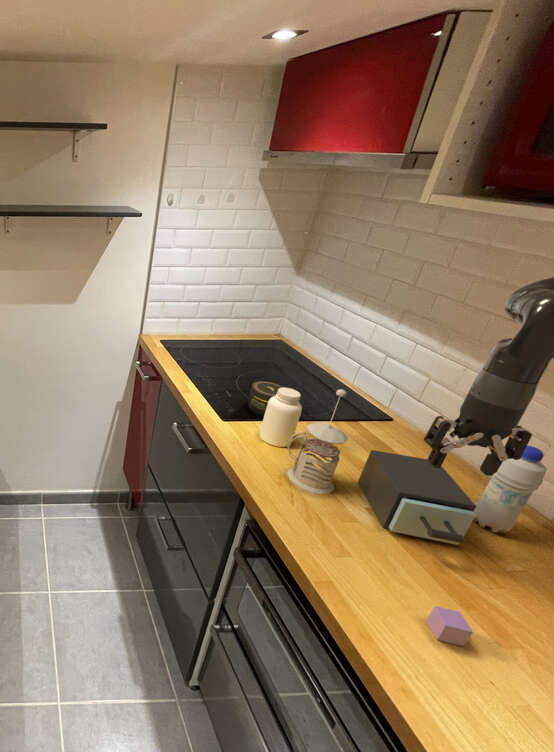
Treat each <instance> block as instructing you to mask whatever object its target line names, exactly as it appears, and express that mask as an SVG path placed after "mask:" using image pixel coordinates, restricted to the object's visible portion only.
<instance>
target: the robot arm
mask: <svg viewBox="0 0 554 752" xmlns="http://www.w3.org/2000/svg"><path fill="white" fill-rule="evenodd" d="M504 312H505V314H506V316H508V317H509V318H510V319H511V320H512V321H514V322H516V323H517V324H520V325H521V327H520V329H519V330H518V331H517V332H516V334H515V335H514V336H513V337H509V338H503V339H500V340H499V341H497V342H496V343H495V344H494V346H493V347H492V349H491V351H490V353H489V354H488V356H487V358H486V361H484V362H485V363H484V364H483V366H482V368H481V369H480V371H479V372H478V374H477V375H476V376H475V379H473V382H472V384H471V386H470V388H469V390H468V393H467V394H466V396H465V398H464V400H463V402H462V404H461V406H460V408H459V416H458V417H457V418H455V419H454V420H453V419H447V418H445V417H443V416H442V415H438V416H436V417H435V418H434V420H433V421H432V423H431V425H430V427H429V429H428V430H427V433H426V434H425V436H424V438H423V441H424V442H425V443H426V445H428V446H429V447H430V448H431V450H430V453H429V455H428V457H427V459H428V461H429V463H430V464H431V465H432V466H433V467H434V468H440V467H441V466H443V463H444V461H446V457H447V456H448V453H449V452H450V451H452V450H454V449H461V448H462V447H465V446H471V447H475V446H477V447H481V448H485V449H487V448H488V450H489V452H490V453H487V454H486V456H485V458H484V460H483V461H482V462H481V465H480V467H479V470H480V471H481V472H482V473H483V474H484V475H485V476H487V477H492V476H493V474H495V473H496V472H497V471H498V469H499V467H500V466H501V464H502V462H503V461H506V460H507V459H514V460H519V459H520V458H521V457H522V455H523V453H524V451H525V449H526V447H527V446H529V443H530V441H531V439H532V437H533V434H532V433H531V432H530V431H529V430H527V429H526V428H524V427H523V426H522V425H519V423H520V421H521V419H522V417H523V416H524V414H525V412H526V411H527V409H528V407H529V405H530V403H532V400H533V398H534V397H535V395H536V392H537V389H538V387H539V384H540V382H541V380H542V378H543V376H544V374H545V373H546V371H547V369H548V368H549V366H550V363H551V362H552V360H553V359H554V277H553V276H552V277H548V278H545V279H540V280H537V281H534V282H531V283H529V284H526V285H524V286H522V287H520V288H518V289H517V290H515V291H513V292H512V293H511V294H510V295H508V297H507V299H506V300H505V302H504ZM455 437H457V438H458V439H455ZM505 439H507V441H506V443H505V444H504V443H503V440H505Z"/></svg>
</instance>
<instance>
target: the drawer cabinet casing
mask: <svg viewBox="0 0 554 752" xmlns="http://www.w3.org/2000/svg"><path fill="white" fill-rule="evenodd" d="M357 486H359V488H360V490H361V493H362V494H363V496H364V497H365V499H366V501H367V503H368V504H369V506H370V508H371V510H372V512H373V513H374V515H375V517H376V518H377V521H378V522H379V524H380V526H381V527H382V528H383V529H386V530H390V528H389V525H390V523H391V520H392V518H393V516H394V514H395V512H396V510H397V508H398V506H399V504H400V502H401V500H402V497H403V496H405V497H410V498H415V499H421V500H426V501H431V502H437V503H442V504H447V505H452V506H458V507H462V508H461V509H463V510H468V511H472V512H474V510H475V508H476V505H475V504H476V503H475V502H473V501H472V499H471V498H470V497H469V495H467V494H466V492H465V491H464V490H463V489H462V488H461V486H460V485H459V484H458V483H457V482H456V481H455V479H454V478H453V477H451V474H449V472H448V471H447V470H446V469H445V468H444V467H443V465H441V467H440V468H434V467H433V466H432V465H431V464H430V463H429V461H428V458H423V457H416V456H411V455H404V454H399V453H392V452H387V451H381V450H375V449H371V450H370V452H369V454H368V456H367V459H366V461H365V463H364V466H363V469H362V471H361V474H360V475H359V478H358V481H357Z"/></svg>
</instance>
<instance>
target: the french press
mask: <svg viewBox="0 0 554 752" xmlns="http://www.w3.org/2000/svg"><path fill="white" fill-rule="evenodd" d="M335 394H336V396H339V397H338V399H337V402H336V405H335V406H334V411H333V413H332V415H331V419H330V421H329V423H326V422H325V423H324V422H314V423H309V424H308V425H307V426H306V430H307V432H308V434H309V435H310V436H312V437H313V438H308V436H307V432H306V431H298V432H295V433H294V435H292V436H291V437H290V439H289V441H288V444H287V446H286V448H287V451H288V455H289V456H290V457H291V459H293V461H294V464H293V467H290V468H289V469H288V470H287V474H286V475H287V477H288V479H289V480H290V482H292V484H294V485H295V486H297V487H299V488H300V489H302V490H304V491H306V492H309V493H312V494H318V495H327V494H328V495H329V494H332V492H333V491H334V490H335V489H334V488H335V486H334V484H333V482H332V480H333V477H334V475H335V473H336V469H337V467H338V464H339V462H340V455H341V451H340V449H339V447H337V446H336V445H343V444H345V443H346V442H348V440H349V436H348V435H347V434H346V433H345V431H343V430H341V429H340V428H338V427H337V426H334V425H332V422H333V420H334V419H333V418H334V416H335V413H336V410H337V407H338V405H339V402H340V399H341V397H344V398H345V397H346V396H347V391H346V390H345V389H342V388H341V389H337V390H336V391H335ZM301 433H304V434H303V435H302V434H301ZM298 434H301V435H298ZM297 435H298V436H297ZM295 436H296V437H295ZM292 437H293V439H292V441H291V443H290V444H289V442H290V440H291V438H292ZM302 437H303V440H304V442H303V444H301V445H300V449H299V453H298V455H295V454H294V453H292V452H291V448H290V447H291V445H292V444H293V442H294V441H295V440H297V439H298V438H299V439H300V438H302ZM309 451H310V452H309ZM328 458H329V459H328ZM330 459H331V460H330ZM325 461H326V462H325ZM316 465H317V466H316Z"/></svg>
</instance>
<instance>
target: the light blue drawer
mask: <svg viewBox="0 0 554 752" xmlns="http://www.w3.org/2000/svg"><path fill="white" fill-rule="evenodd" d="M461 508H462V507H458V506H452V505H447V504H442V503H437V502H431V501H426V500H421V499H415V498H410V497H405V496H403V497H402V500H401V502H400V504H399V506H398V508H397V510H396V512H395V514H394V516H393V518H392V520H391V523H390V525H389V528H390V529H389V530H390V532H394V533H399V534H403V535H408V536H412V537H417V538H422V539H427V540H431V541H437V542H441V543H447V544H451V545H455V546H460V544H463V543H464V540H465V538H464V537H465V535H466V533H467V531H469V528H470V526H471V524H472V523H473V522H474V520H473V519H474V518H475V516H476V515H475V514H474V513H473V512H472V511H468V510H463V509H461Z"/></svg>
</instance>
